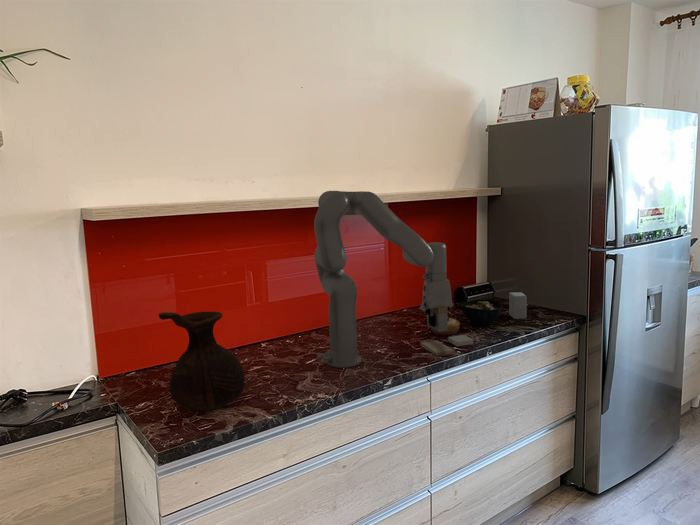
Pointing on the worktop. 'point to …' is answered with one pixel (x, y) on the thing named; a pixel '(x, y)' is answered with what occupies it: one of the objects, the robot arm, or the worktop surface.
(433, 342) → the board
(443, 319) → the brown rectangular block
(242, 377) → the jug
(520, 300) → the small box
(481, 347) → the worktop surface
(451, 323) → the pastry
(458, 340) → the tile
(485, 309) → the bowl
